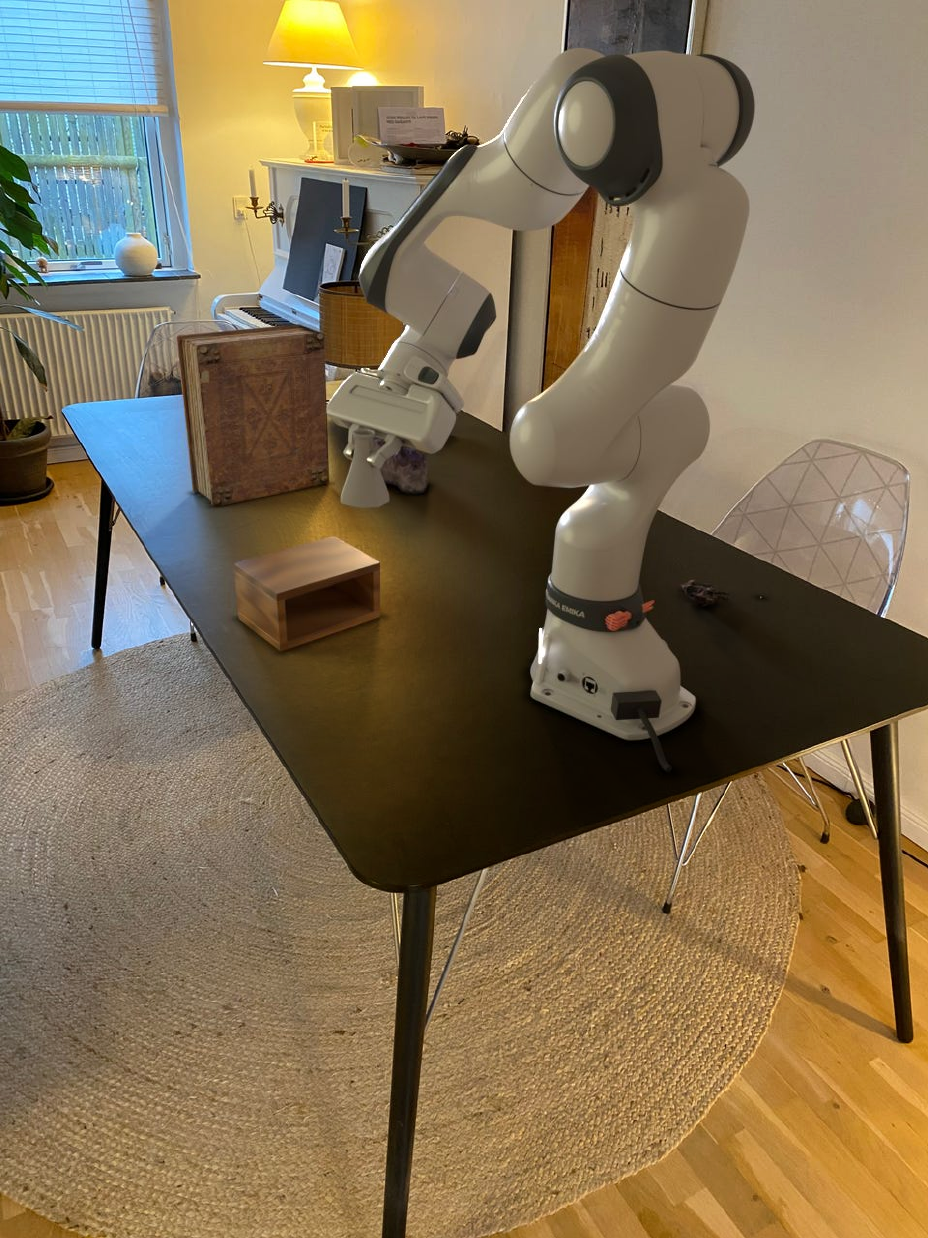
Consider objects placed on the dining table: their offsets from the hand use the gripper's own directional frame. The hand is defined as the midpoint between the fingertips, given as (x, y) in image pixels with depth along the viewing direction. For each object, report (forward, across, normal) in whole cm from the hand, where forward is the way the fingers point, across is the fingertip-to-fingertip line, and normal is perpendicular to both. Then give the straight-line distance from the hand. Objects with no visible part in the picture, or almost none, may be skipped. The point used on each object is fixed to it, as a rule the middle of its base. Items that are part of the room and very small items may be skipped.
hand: (361, 461), depth 125 cm
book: (+1, -52, +33) cm, 61 cm away
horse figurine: (-12, +38, +46) cm, 61 cm away
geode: (-16, -36, +50) cm, 64 cm away
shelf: (+22, -4, +12) cm, 25 cm away
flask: (+4, 0, +5) cm, 6 cm away
